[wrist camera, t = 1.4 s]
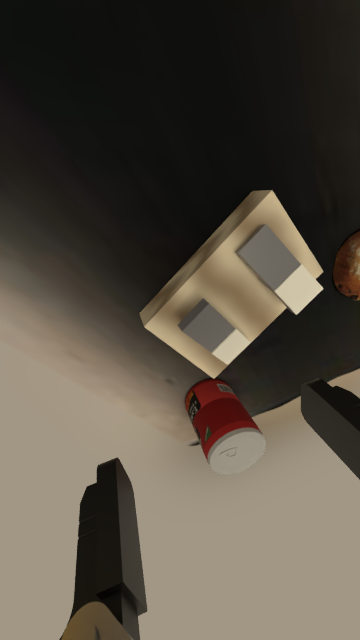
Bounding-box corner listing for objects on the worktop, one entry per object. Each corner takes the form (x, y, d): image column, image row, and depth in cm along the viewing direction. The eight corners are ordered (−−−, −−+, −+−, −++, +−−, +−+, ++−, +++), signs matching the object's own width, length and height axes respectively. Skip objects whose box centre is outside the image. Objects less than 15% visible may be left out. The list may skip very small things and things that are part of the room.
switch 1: (199, 293, 28) (210, 303, 26) (240, 332, 34) (250, 342, 33) (173, 321, 28) (182, 332, 27) (218, 354, 35) (227, 365, 33)
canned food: (179, 387, 40) (205, 446, 30) (227, 370, 41) (266, 422, 31) (188, 421, 43) (213, 484, 34) (231, 404, 45) (267, 461, 35)
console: (252, 191, 30) (272, 190, 27) (303, 265, 37) (324, 272, 33) (139, 313, 33) (144, 326, 29) (205, 363, 39) (215, 379, 36)
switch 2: (258, 225, 29) (267, 223, 27) (312, 286, 31) (323, 288, 29) (232, 252, 29) (238, 253, 27) (287, 310, 32) (296, 314, 30)
